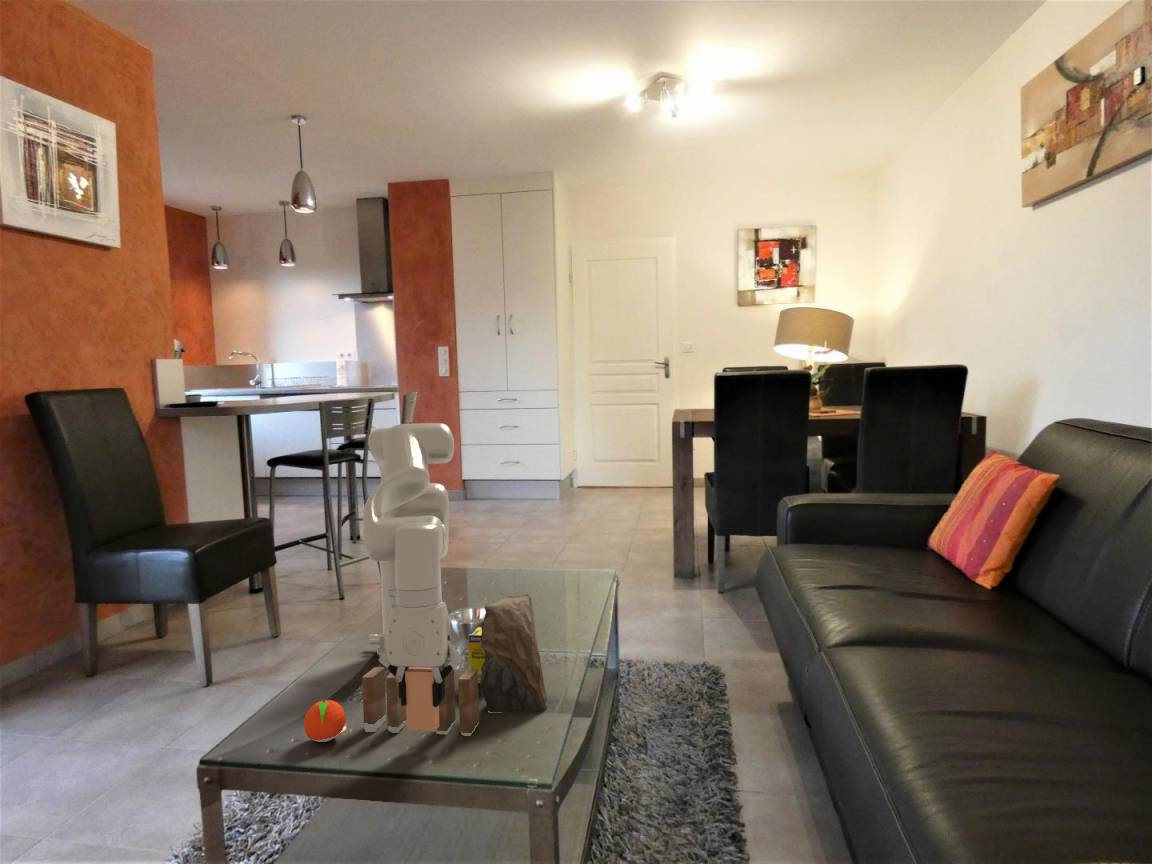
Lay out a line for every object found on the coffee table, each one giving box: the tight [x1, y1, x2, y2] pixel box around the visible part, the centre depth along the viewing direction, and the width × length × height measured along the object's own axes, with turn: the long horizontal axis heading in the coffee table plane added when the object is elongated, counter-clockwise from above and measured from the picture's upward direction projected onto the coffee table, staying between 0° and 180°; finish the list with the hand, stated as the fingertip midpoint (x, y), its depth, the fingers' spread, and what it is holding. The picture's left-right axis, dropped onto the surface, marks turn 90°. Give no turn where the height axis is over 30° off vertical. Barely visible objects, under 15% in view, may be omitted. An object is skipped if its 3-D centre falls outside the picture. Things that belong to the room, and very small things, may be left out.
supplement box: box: [467, 626, 485, 688], centre depth 142 cm, size 6×6×11 cm
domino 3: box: [405, 667, 439, 732], centre depth 112 cm, size 2×5×10 cm, turn 82°
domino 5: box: [457, 668, 480, 733], centre depth 119 cm, size 2×5×10 cm, turn 172°
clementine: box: [303, 699, 347, 740], centre depth 116 cm, size 8×7×7 cm
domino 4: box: [437, 669, 457, 731], centre depth 120 cm, size 2×5×10 cm, turn 172°
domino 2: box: [385, 672, 407, 727], centre depth 121 cm, size 2×5×10 cm, turn 172°
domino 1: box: [361, 666, 387, 724], centre depth 122 cm, size 2×5×10 cm, turn 172°
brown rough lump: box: [480, 593, 548, 713], centre depth 132 cm, size 13×13×20 cm
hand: (422, 701), depth 112 cm, fingers closed on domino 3, 4 cm apart
